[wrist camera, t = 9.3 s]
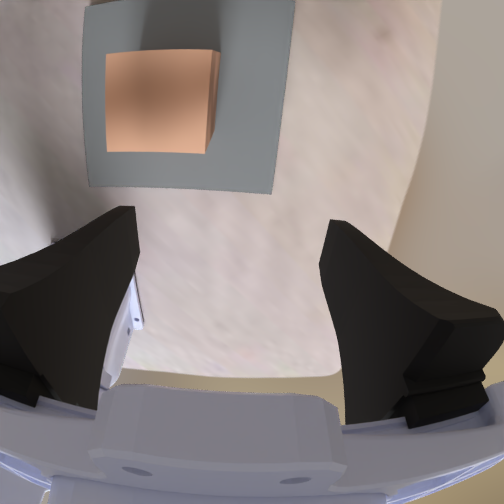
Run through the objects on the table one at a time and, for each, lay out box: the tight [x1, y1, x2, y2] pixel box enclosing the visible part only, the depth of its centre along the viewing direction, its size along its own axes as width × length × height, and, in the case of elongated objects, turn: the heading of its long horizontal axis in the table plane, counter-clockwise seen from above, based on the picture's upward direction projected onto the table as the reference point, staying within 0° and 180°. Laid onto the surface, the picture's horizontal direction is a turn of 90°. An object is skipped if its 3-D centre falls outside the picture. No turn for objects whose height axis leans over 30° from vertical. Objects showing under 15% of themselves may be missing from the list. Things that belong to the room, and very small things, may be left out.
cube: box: [105, 49, 221, 154], centre depth 15 cm, size 5×5×5 cm
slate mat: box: [82, 0, 295, 195], centre depth 17 cm, size 13×13×1 cm
